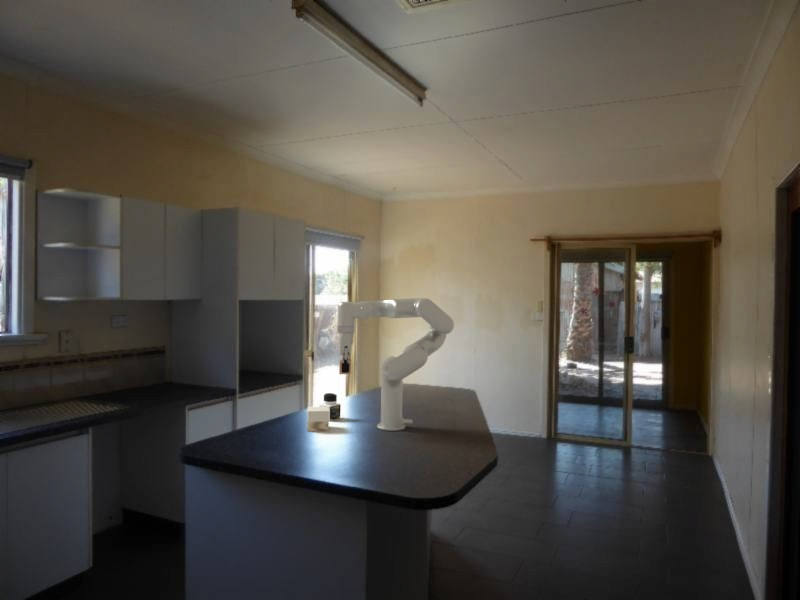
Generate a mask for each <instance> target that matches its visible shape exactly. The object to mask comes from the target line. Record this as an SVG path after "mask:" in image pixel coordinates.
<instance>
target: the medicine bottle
mask: <svg viewBox="0 0 800 600" xmlns="http://www.w3.org/2000/svg"><path fill="white" fill-rule="evenodd" d="M337 397H338V396H337V394H336V393H335V392H334V393H333V392H332V393H331V392H329V393H328V392H327V393H325V394H324V395H323V403H320V404H319V407H328V408H329V422H332V421H333V422H334V421H337V420H340V419H341V403H337V400H338V398H337Z"/></svg>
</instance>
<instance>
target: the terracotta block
mask: <svg viewBox="0 0 800 600" xmlns="http://www.w3.org/2000/svg"><path fill="white" fill-rule="evenodd" d="M342 360H343V359H342V358H339V363H338V364H339V368H338V374H339V375H351V374H352V359H351V358H349V373H342Z"/></svg>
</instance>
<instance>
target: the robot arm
mask: <svg viewBox="0 0 800 600" xmlns="http://www.w3.org/2000/svg"><path fill="white" fill-rule="evenodd" d="M369 318H387V319H407V318H421V319H423V320H424V321H425V322H426V323H427V324H429V330H428V332H427V333H426V334H425V335H424V336H422V337H420V338H419V339H418V340H416V341H415V342H413V343H411V344H409V345H408V346H406V347H405V348H404V349H403V351H402V354H400V355H398V356H393V355H392V356H388V357H386V358H385V359H383V361H382V362H381V365H380V378H381V379H380V380H381V388H380V391H381V392H380V422H379V423H377V425H376V428H377V429H379V430H382V431H388V432H389V431H391V432H392V431H393V432H396V431H402V430H405V429H406V425H413V419H409V418H404V417H403V393H404V390H403V389H404V388H403V387H404V382H403V381H404V379H405V378H407V377H408V376H410V375H412V374H414V373H415V372H417V371H418V370H420V369H421V368H422V367H424V366H425V364H427V362H428V359H429V358H428V357H430V356H431V355H432V354H434V353H435V352H437V351H438V350H439V349H440V348H441V347H443V345H444V343H445V341H446V339H447V335H448V334H451V333H452V331H454V327H455V322H454V320H453V318H452V317H451V316H450V315H449V314H448V313H446V311H444V310H442V309H441V308H440V307H439V306H438V305H437V303H435V302H433V301H432V300H431V299H429V298H426V297H418V298H416V297H415V298H392V299H386V300H369V301H359V302H353V301H340V302H338V304H337V327H336V328H337V331H336V333H337V334H339V337H338V339H339V341H338V343H339V344H338V355H339V356H338V357H341V359H343V360H342V373H349V359H350V357H351V352H352V344H353V343H352V342H353V340H352V339H353V338H352V337H353V334H355V333H356V332H355V328H356V327H355V326H356V325H355V324H356V323H355V322H356V319H362V320H367V319H369Z"/></svg>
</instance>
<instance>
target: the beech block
mask: <svg viewBox="0 0 800 600" xmlns="http://www.w3.org/2000/svg"><path fill="white" fill-rule="evenodd" d="M329 422H330V421H329ZM329 422H308V420H307V423H306V432H308V433H309V432H312V433H313V432H315V433H316V432H329V424H330V423H329Z"/></svg>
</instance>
